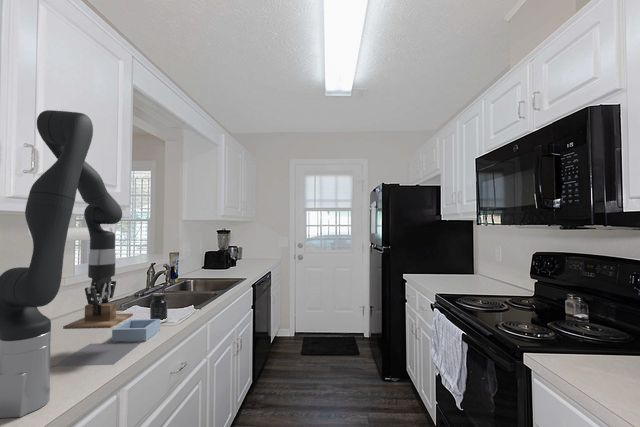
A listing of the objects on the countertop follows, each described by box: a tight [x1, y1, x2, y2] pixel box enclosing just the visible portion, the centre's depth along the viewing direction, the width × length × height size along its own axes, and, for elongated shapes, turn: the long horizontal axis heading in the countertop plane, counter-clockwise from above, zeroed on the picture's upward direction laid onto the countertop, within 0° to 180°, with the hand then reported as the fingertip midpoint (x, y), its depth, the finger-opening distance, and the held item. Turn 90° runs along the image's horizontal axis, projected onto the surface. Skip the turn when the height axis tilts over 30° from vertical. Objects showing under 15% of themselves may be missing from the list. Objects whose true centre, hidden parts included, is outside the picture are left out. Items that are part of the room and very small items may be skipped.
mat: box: [52, 342, 142, 367], centre depth 107 cm, size 18×18×1 cm
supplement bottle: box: [149, 293, 168, 320], centre depth 143 cm, size 7×7×12 cm
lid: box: [62, 302, 134, 330], centre depth 107 cm, size 14×14×6 cm
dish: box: [111, 318, 161, 343], centre depth 124 cm, size 12×12×5 cm
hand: (100, 314), depth 107 cm, fingers closed on lid, 3 cm apart
